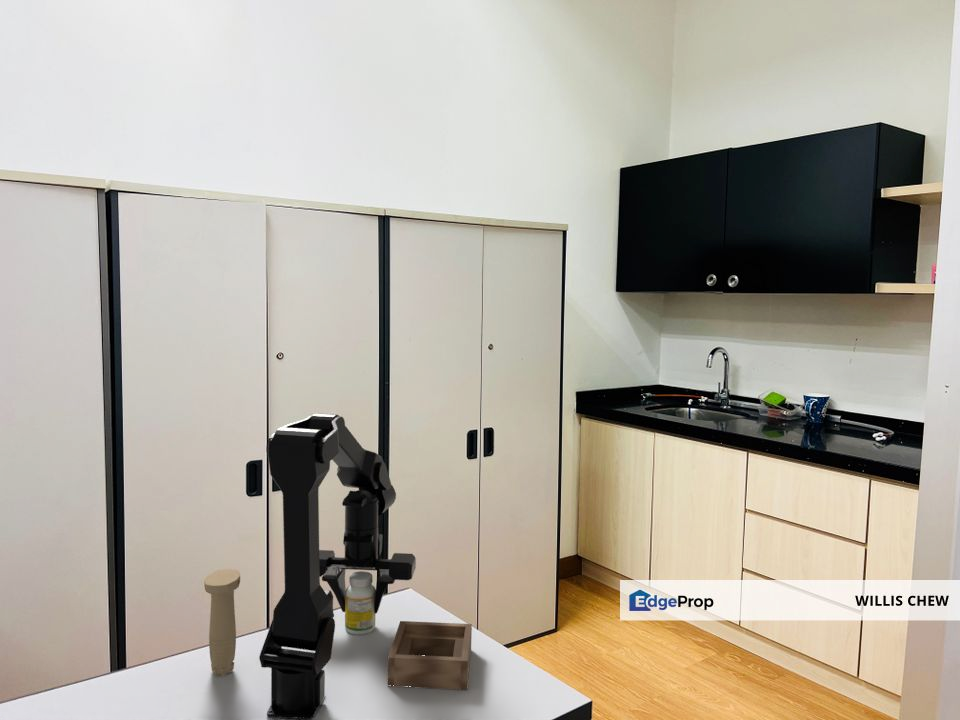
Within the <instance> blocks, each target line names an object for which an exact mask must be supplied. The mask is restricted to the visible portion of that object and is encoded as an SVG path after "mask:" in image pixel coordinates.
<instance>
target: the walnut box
mask: <svg viewBox="0 0 960 720" xmlns="http://www.w3.org/2000/svg"><path fill="white" fill-rule="evenodd" d="M399 621H400V622H399V624H398V627H397V629H396V632H395V636H394V638H393V641H392V644H391V647H390V650H389V653H388V656H387V685H391V686H390V687H393V685H394V686H408V687H407V688H415V687H420V688H419V689H435V690H436V689H439V690H442V689H444V690H460V691H468V684H469V683H468V682H469V673H470V664H471V655H472V631H473V629H472V628H473V627H472V626H473V625H472V623H458V622H457V623H456V622H437V621H436V622H432V621H431V622H430V621H412V620H411V621H409V620H399ZM422 655H425V656H422ZM409 686H411V687H409ZM421 687H422V688H421Z"/></svg>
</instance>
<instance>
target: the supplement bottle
mask: <svg viewBox="0 0 960 720" xmlns="http://www.w3.org/2000/svg"><path fill="white" fill-rule="evenodd" d="M348 578H349V579H348V582H349V585H348V586H347V587H346V592H345V612H344V627H345V631H346V632H347V633H349V634H351V635H357V636H358V635H359V636H360V634H361V635H366V633H367V634H369V633H371V632H373V631H374V630H375V628H376V613H375V610H374V604H375V594H376V586H374V585H373V580H374V579H373V574H372V573H371V572H368V571H364V570H360V571H354V572H352V573H350V574H349V577H348Z"/></svg>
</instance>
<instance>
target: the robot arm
mask: <svg viewBox="0 0 960 720" xmlns="http://www.w3.org/2000/svg"><path fill="white" fill-rule="evenodd" d="M265 452H266V455H267V459H268V464H269V467H268V468H269V474H270V477H271V478H272V479H273V481H274V482H275V484H276V486H277V487H278V488H279V490H280V491H281V493H282V518H283V521H282V522H283V527H282V529H283V563H284V564H283V565H284V566H283V568H284V571H283V572H284V573H283V574H284V592H283V594H282V595H281V597H280V599H279V601H278V602H277V604H276V605H275V606H274V609H273V614H272V620H271V622H270V625H269V629H268V632H267V634H266V638H265V640H264V641H263V645H262V649H261V651H260V653H259V657H258V658H259V662H260V667H261V668H264V669H265V668H270V670H271V673H270V676H271V679H270V681H271V682H270V683H271V684H270V687H271V688H270V692H271V694H270V695H271V697H270V698H271V699H270V703H271V704H270V705H269V708H268V710H267V711H266V716H267V717H268V718H284V719H285V718H287V719H304V720H305V719H306V720H309V719H310V720H311V719H313V718H314V717H315V714H316V712H317V710H318V708H320V707H321V705H322V702H323V701H324V698H325V695H326V694H325V692H326V691H325V690H326V689H325V686H326V685H325V684H326V683H325V680H326V672H325V670H324V668H325V666H326V665H327V664H328V663H329V662H330V660H331V659H332V651H333V645H334V638H335V637H334V636H335V630H336V621H335V619H334V617H335V614H334V596H335V598H336V600H337V603H338V605H339V607H340V609H341V612H342V613H345V592H346V589H347V587H346V570H354V571H355V570H356V571H357V570H358V571H359V570H360V571H379V576H378V578H377V579H376V586H375V589H376V594H375V604H374V610H375V614H378V611H379V609H380V606H381V603H382V600H383V597H384V594H385V591H386V589H387V587H388V585H393V584H395V581H410V580H412V579H413V576H414V573H415V570H416V566H417V564H416V563H417V561H416V560H417V558H416V556H415V555H414V554H413V553H403V552H394V553H393V554H392V557H391V558H390V559H389V558H387V559H385V558H379V557H380V556H381V553H382V551H383V550H382V548H383V534H381V533H379V517H380V516H381V515H382V514H384V513H385V512H386V511H387V510H388V509H389V508H390V507H392V506H393V505H394V503H395V501H396V498H397V492H396V490H395V488H394V486H393V484H392V482H391V478H390V475H389V472H388V468H387V465H386V463H385V461H384V459H383V457H382V456H381V455H379V454H378V453H377V452H374V451H371V450H367V449H365V448H363V447H362V445H361V444H360V443H359V441H358V440H357V439H356V438H355V436H354V435H353V434H352V432H351V431H350V430H349V428H348V427H347V426H346V421H345V418H344V417H343V416H340V415H338V414H332V413H319V412H317V413H314V414H310V415H308V416H307V417H305V418H304V419H301V420H297V421H295V422H292V423H288V424H286V425H283V426H282V427H279V428H278V429H276V431H275V432H274V433H273V434H271V435H270V436H269V438H268V440H267V443H266V451H265ZM331 461H332V462H334V463H335V465H336V466H337V468H336V469H337V470H336V471H337V473H336V476H337V478H338V479H339V481H340V483H341V485H342V486H344V487H347V488H355V489H357V490H349V491H348V494H347V495H346V496H345V498H343V500H342V503H341V505H342V506H343V507H344V533H343V540H342V541H343V542H342V543H343V546H344V557H339V556H335V555H336V554H335V551H334V550H330V549H329V550H325V549H324V550H323V549H322V550H321V549H320V526H319V525H320V518H319V517H320V515H319V513H320V511H319V509H320V508H319V507H320V505H319V504H320V503H319V489H320V486H321V484H322V483H323V482H324V479H325V478H326V476H327V475H328V473H329V472H330V469H331V468H330V467H331ZM320 578H321V579H320ZM320 580H321V581H322V582H326V583H327V584H328V585H329V587H330V589H331V590H327V589H324V588H323V587H322V586H321V581H320ZM333 594H334V595H333ZM289 648H290V649H289ZM304 650H305V651H304Z"/></svg>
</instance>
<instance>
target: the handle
mask: <svg viewBox="0 0 960 720" xmlns="http://www.w3.org/2000/svg"><path fill="white" fill-rule="evenodd" d="M240 583H241V573H240V570H238V569H232V568H231V569H230V568H229V569H228V568H226V569H225V568H224V569H218V570H215V571H213V572H211V573H209V574H207V576H206V577H205V578H204V585H203V586H204V590H205V592H206V593H207V594H209V595H210V615H209V617H210V618H209V633H208V643H209V646H208V647H209V658H210V665H211V672H213V675H214V676H223V677H224V676H227V674H229V673H231V672H233V670H234V669H235V668H234V667H235V662H234V661H235V657H236V647H237V628H236V627H237V626H236V614H235V612H236V611H235V591H236V590H237V589H239V587H240Z"/></svg>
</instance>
